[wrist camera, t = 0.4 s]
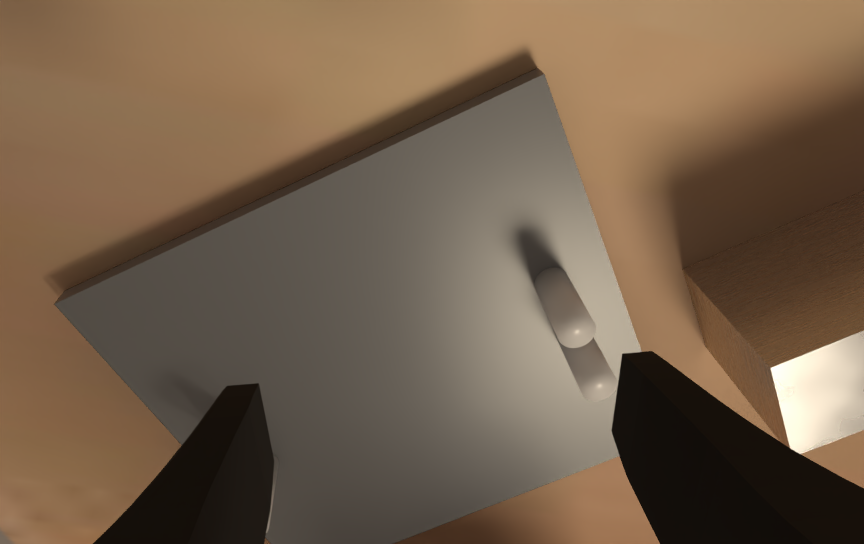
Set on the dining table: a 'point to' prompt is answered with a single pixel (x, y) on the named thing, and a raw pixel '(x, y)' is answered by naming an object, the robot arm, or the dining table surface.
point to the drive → (792, 323)
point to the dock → (391, 324)
